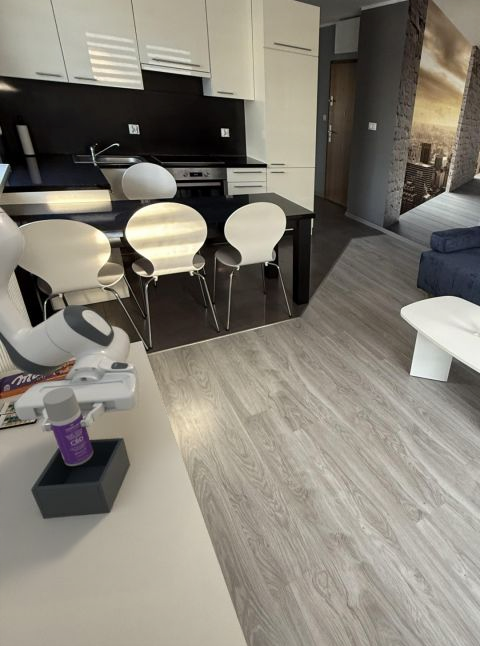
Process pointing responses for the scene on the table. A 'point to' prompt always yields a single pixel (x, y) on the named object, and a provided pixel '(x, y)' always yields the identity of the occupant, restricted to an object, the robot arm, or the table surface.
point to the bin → (83, 481)
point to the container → (68, 426)
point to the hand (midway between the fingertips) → (66, 426)
